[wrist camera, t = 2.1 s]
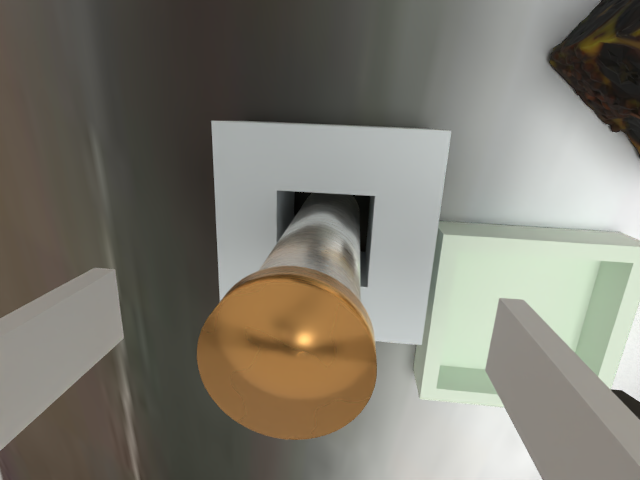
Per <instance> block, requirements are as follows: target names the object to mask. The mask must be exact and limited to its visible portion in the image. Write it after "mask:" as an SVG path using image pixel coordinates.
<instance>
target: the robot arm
mask: <svg viewBox="0 0 640 480" xmlns="http://www.w3.org/2000/svg"><path fill="white" fill-rule="evenodd" d="M123 338H124V335H123V327H122V320H121V312H120V304H119V296H118V289H117V281H116V273H115V269H104V268H93V269H91V270H89V271H87V272H86V273H84V274H82V275H80V276H78V277H76V278H74V279H73V280H71V281H69V282H67V283H65V284H63V285H61V286H60V287H58V288H56V289H54V290H52V291H50V292H49V293H47V294H45V295H43V296H41V297H39V298H37V299H36V300H34V301H32V302H30V303H28V304H26V305H24V306H23V307H21V308H19V309H17V310H15V311H13V312H11V313H10V314H8V315H6V316H4V317H2V318H0V450H1V449H2V448H4V447H5V446H6V445H7V444H8V443H9V442H10V441H11V440H12V439H13V438H15V437H16V436H17V435H18V434H19V433H20V432H21V431H22V430H23V429H24V428H26V427H27V426H28V425H29V424H30V423H31V422H32V421H33V420H34V419H35V418H37V417H38V416H39V415H40V414H41V413H42V412H43V411H44V410H45V409H46V408H48V407H49V406H50V405H51V404H52V403H53V402H54V401H55V400H56V399H57V398H59V397H60V396H61V395H62V394H63V393H64V392H65V391H66V390H67V389H68V388H70V387H71V386H72V385H73V384H74V383H75V382H76V381H77V380H78V379H79V378H81V377H82V376H83V375H84V374H85V373H86V372H87V371H88V370H89V369H90V368H92V367H93V366H94V365H95V364H96V363H97V362H98V361H99V360H100V359H101V358H103V357H104V356H105V355H106V354H107V353H108V352H109V351H110V350H111V349H112V348H114V347H115V346H116V345H117V344H118V343H119V342H120V341H121V340H122V339H123ZM485 371H486V373H487V375H488V377H489V379H490V380H491V382H492V384H493V386H494V388H495V390H496V392H497V394H498V396H499V398H500V399H501V401H502V403H503V405H504V407H505V409H506V411H507V413H508V415H509V417H510V418H511V420H512V422H513V424H514V426H515V428H516V430H517V432H518V434H519V436H520V437H521V439H522V441H523V443H524V445H525V447H526V449H527V451H528V453H529V455H530V456H531V458H532V460H533V462H534V464H535V466H536V468H537V470H538V472H539V474H540V475H541V477H542V479H543V480H640V402H639V401H637V400H636V399H634V398H633V397H631V396H629V395H628V394H626V393H625V392H623V391H622V390H611V389H609V388H608V387H607V385H606V384H605V383H604V382H603V381H602V380H601V379H600V378H599V377H598V376H597V375H596V374H595V373H594V372H593V371H592V370H591V369H590V368H589V367H588V366H587V365H586V364H585V363H584V362H583V361H582V360H581V359H580V357H579V356H578V355H577V354H576V353H575V352H574V351H573V350H572V349H571V348H570V347H569V346H568V345H567V344H566V343H565V342H564V341H563V340H562V339H561V338H560V337H559V336H558V335H557V334H556V333H555V332H554V331H553V329H552V328H551V327H550V326H549V325H548V324H547V323H546V322H545V321H544V320H543V319H542V318H541V317H540V316H539V315H538V314H537V313H536V312H535V311H534V310H533V309H532V308H531V307H530V306H529V305H528V304H527V303H526V301H525V300H522V299H508V298H499V302H498V307H497V312H496V317H495V322H494V327H493V333H492V338H491V343H490V348H489V353H488V358H487V363H486V368H485Z"/></svg>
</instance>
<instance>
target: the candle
mask: <svg viewBox="0 0 640 480" xmlns="http://www.w3.org/2000/svg"><path fill="white" fill-rule="evenodd" d="M550 64H551V65H552V66H553V68H554V69H555V70H556V71H557V72H558V73H559V74H560V75H561V76H562V77H563V78H564V79H565V80H566V81H567V82H568V83H569V84H570V85H571V86H572V87H573V88H574V89H575V91H576V93H577V95H579V96H580V97H581V98H582V100H583V101H584V102H585V103H586V104H587V105H588V106H589V107H591V108H592V109H593V110H594V111H595V112H596V114H597V115H598V117H599V118H600V119H601V120H602V121H603V122H604V123H605V124H609V125H611V129H612V132H618V131H623V132H624V133H626V134H627V136H628V137H629V139H630V140H631V142H632V144H633V145H634V146H635V147H636V148H637V151H638V153H639V155H640V0H602V1H601V3H600V4H599V5H598V6H597V7H596V8H595V9H594V10H593V11H592V12H591V13H590V15H589V16H588V17H587V18H586V19H584V20H583V21H582V22H581V23H580V24H579V25H578V26H577V27H576V28H575V29H574V31H573V32H572V33H571V34H570V35H569V36H568V37H567V38H566V39H565V41H564V42H562V43H561V44H559V45H558V46H556V47H554V48H553V52H552V55H551V59H550Z"/></svg>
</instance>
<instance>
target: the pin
mask: <svg viewBox="0 0 640 480" xmlns="http://www.w3.org/2000/svg"><path fill="white" fill-rule="evenodd" d="M197 362H198V368H199V372H200V375H201V379H202V381H203V383H204V386H205V388H206V389H207V391H208V393H209V394H210V396H211V397H212V399H213V400H214V401H215V403H216V404H217V405H218V406H219V407H220V408H221V409H222V410H223V411H224V412H225V413H226V414H227V415H228V416H230V417H231V418H232V419H233V420H235V421H236V422H238V423H240V424H241V425H243V426H245V427H247V428H249V429H251V430H253V431H255V432H258V433H260V434H263V435H267V436H270V437H275V438H281V439H292V440H299V439H310V438H317V437H320V436H324V435H327V434H330V433H332V432H335V431H337V430H339V429H340V428H342V427H344V426H346V425H347V424H348V423H350V422H351V421H352V420H354V419H355V418H356V417H357V416H358V415H359V414H360V413H361V411H362V410H363V409H364V407H365V406H366V405H367V403H368V401H369V399H370V397H371V395H372V392H373V390H374V387H375V382H376V376H377V362H376V348H375V337H374V330H373V326H372V323H371V320H370V317H369V315H368V313H367V311H366V309H365V308H364V306H363V304H362V303H361V293H360V210H359V206H358V203H357V201H356V199H355V198H354V197H353V195H349V194H331V193H311V194H310V195H309V197H308V198H307V199H306V201H305V202H304V204H303V205H302V207H301V208H300V210H299V211H298V213H297V214H296V216H295V217H294V219H293V220H292V222H291V223H290V225H289V226H288V228H287V229H286V231H285V232H284V234H283V235H282V237H281V238H280V239H279V241H278V242H277V244H276V245H275V247H274V248H273V250H272V251H271V253H270V254H269V256H268V257H267V259H266V260H265V262H264V263H263V265H262V266H261V268H260V269H259V271H257V272H254V273H252V274H250V275H248V276H246V277H245V278H243V279H241V280H240V281H239V282H237V283H236V284H235V285H234V286H233V287H232V288H231V289H230V290H229V291H228V292H227V293H226V295H225V296H224V297H223V299H222V300H221V301H220V302H219V304H218V305H217V306H216V308H215V309H214V310H213V312H212V313H211V314H210V316H209V317H208V319H207V320H206V322H205V324H204V326H203V328H202V330H201V333H200V336H199V340H198V346H197Z"/></svg>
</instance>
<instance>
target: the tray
mask: <svg viewBox="0 0 640 480" xmlns="http://www.w3.org/2000/svg"><path fill="white" fill-rule="evenodd" d="M499 298H508V299H522V300H525V301H526V303H527V304H528V305H529V306H530V307H531V308H532V309H533V310H534V311H535V312H536V313H537V314H538V315H539V316H540V317H541V318H542V319H543V320H544V321H545V322H546V323H547V324H548V325H549V326H550V327H551V328H552V329H553V331H554V332H555V333H556V334H557V335H558V336H559V337H560V338H561V339H562V340H563V341H564V342H565V343H566V344H567V345H568V346H569V347H570V348H571V349H572V350H573V351H574V352H575V353H576V354H577V355H578V356H579V357H580V359H581V360H582V361H583V362H584V363H585V364H586V365H587V366H588V367H589V368H590V369H591V370H592V371H593V372H594V373H595V374H596V375H597V376H598V377H599V378H600V379H601V380H602V381H603V382H604V383H605V384H606V385H607V387H608V388H609V389H611V387H612V384H613V381H614V378H615V375H616V372H617V369H618V366H619V363H620V360H621V357H622V354H623V351H624V348H625V345H626V342H627V339H628V336H629V332H630V329H631V326H632V323H633V320H634V317H635V314H636V311H637V308H638V305H639V302H640V240H637V239H635V238H632V237H630V236H628V235H625V234H623V233H621V232H612V231H595V230H579V229H562V228H546V227H529V226H513V225H496V224H480V223H464V222H447V221H439V225H438V232H437V239H436V246H435V253H434V260H433V268H432V275H431V282H430V289H429V296H428V304H427V311H426V318H425V325H424V332H423V339H422V345H416V353H415V360H414V368H413V371H414V375H415V380H416V384H417V389H418V393H419V398H420V399H423V400H433V401H444V402H454V403H464V404H474V405H484V406H494V407H504V405H503V403H502V401H501V399H500V398H499V396H498V394H497V392H496V390H495V388H494V386H493V384H492V382H491V380H490V379H489V377H488V375H487V373H486V371H485V368H486V363H487V358H488V353H489V348H490V343H491V338H492V333H493V327H494V322H495V317H496V312H497V307H498V302H499ZM504 408H505V407H504Z"/></svg>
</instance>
